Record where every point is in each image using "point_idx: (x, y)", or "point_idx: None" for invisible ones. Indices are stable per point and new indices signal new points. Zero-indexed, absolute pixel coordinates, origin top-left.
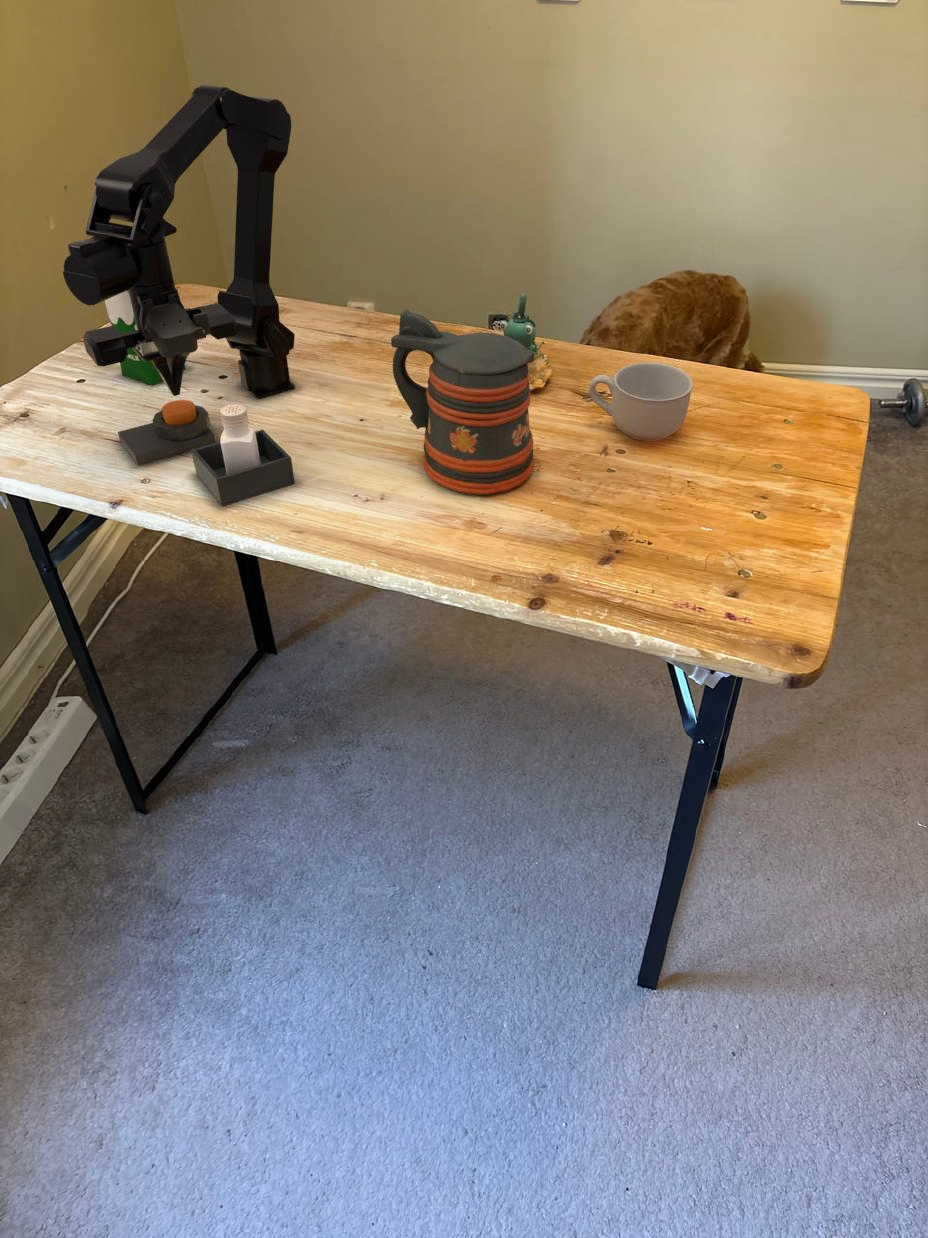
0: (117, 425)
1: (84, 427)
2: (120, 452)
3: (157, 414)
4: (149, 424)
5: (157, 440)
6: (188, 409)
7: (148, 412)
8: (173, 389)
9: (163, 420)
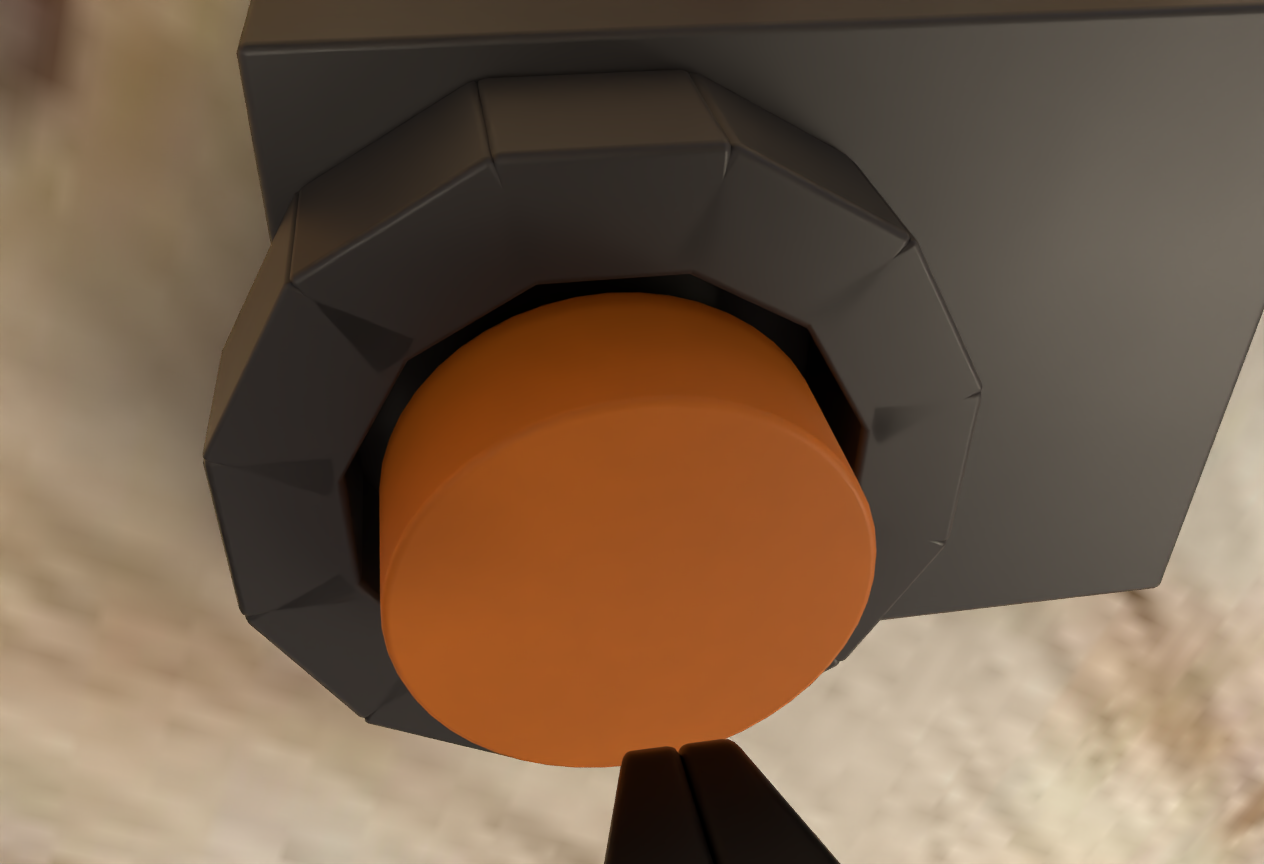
0: (960, 755)
1: (1147, 797)
2: None
3: None
4: None
5: (974, 243)
6: (527, 476)
7: None
8: (760, 836)
9: None
